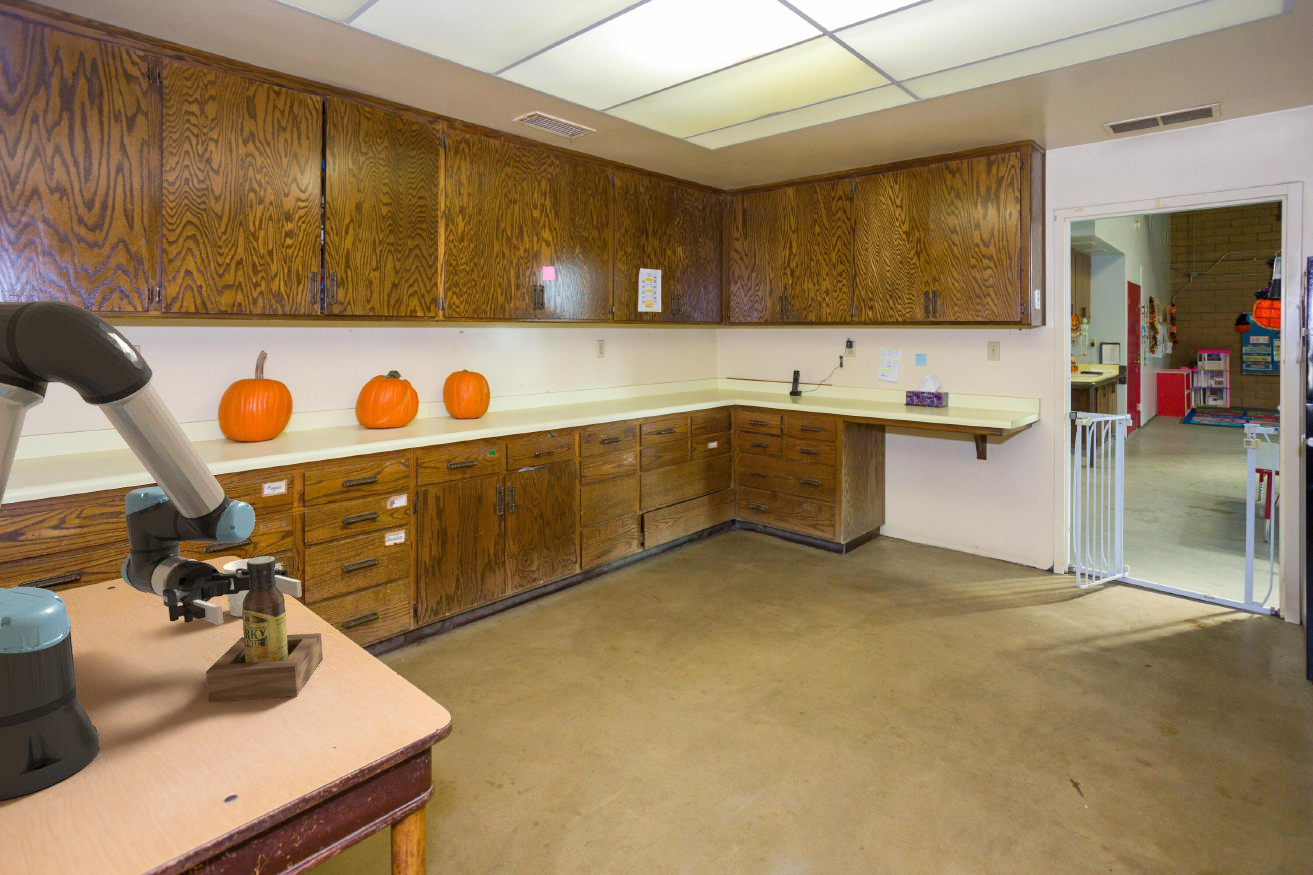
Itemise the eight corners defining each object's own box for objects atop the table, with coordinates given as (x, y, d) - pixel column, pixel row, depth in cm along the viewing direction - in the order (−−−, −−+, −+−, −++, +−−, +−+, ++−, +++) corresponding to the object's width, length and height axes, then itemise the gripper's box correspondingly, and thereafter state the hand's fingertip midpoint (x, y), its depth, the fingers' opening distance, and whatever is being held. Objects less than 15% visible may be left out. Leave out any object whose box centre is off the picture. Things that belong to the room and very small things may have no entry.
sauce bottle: (238, 679, 120) (227, 561, 117) (272, 663, 125) (262, 551, 122) (265, 687, 117) (255, 567, 114) (298, 670, 123) (290, 555, 120)
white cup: (249, 619, 147) (245, 571, 145) (217, 615, 149) (213, 568, 147) (278, 605, 154) (275, 560, 153) (247, 602, 156) (244, 557, 155)
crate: (297, 696, 116) (294, 666, 115) (208, 701, 114) (206, 671, 113) (322, 660, 128) (320, 632, 128) (243, 664, 127) (241, 637, 126)
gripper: (256, 580, 141) (329, 599, 131) (110, 625, 120) (184, 652, 110) (253, 542, 140) (326, 559, 130) (105, 581, 119) (180, 604, 108)
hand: (262, 601), depth 120 cm, fingers open, 13 cm apart
